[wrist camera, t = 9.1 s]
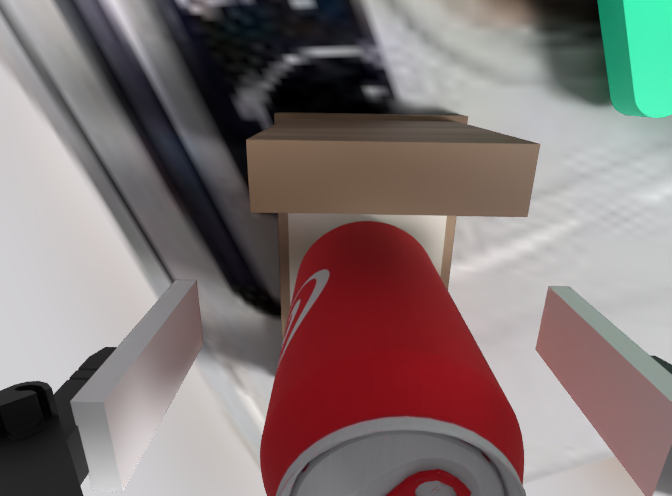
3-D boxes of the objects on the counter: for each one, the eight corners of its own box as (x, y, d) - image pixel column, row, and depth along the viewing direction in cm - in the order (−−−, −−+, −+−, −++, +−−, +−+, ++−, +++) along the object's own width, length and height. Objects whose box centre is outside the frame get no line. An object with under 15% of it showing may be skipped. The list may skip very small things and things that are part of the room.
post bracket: (277, 112, 19) (224, 130, 10) (461, 114, 18) (562, 135, 10) (286, 379, 23) (255, 542, 15) (431, 381, 23) (483, 547, 15)
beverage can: (271, 286, 20) (183, 539, 9) (358, 187, 18) (388, 340, 7) (370, 360, 21) (405, 660, 10) (460, 273, 20) (622, 517, 8)
